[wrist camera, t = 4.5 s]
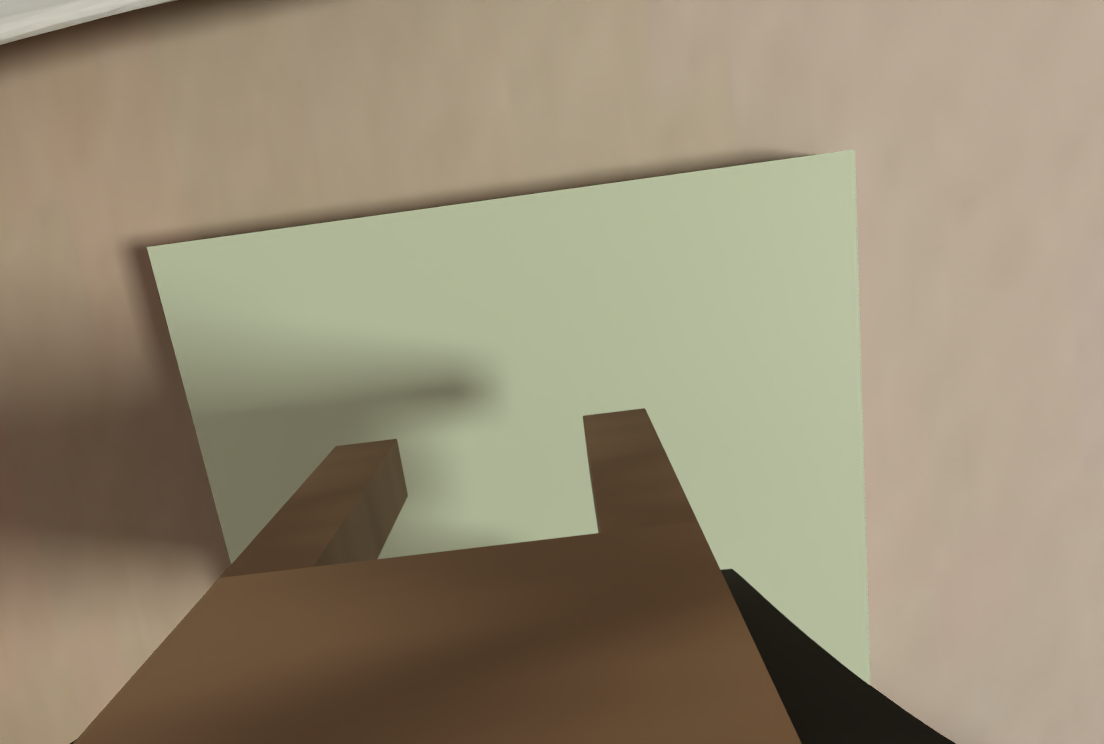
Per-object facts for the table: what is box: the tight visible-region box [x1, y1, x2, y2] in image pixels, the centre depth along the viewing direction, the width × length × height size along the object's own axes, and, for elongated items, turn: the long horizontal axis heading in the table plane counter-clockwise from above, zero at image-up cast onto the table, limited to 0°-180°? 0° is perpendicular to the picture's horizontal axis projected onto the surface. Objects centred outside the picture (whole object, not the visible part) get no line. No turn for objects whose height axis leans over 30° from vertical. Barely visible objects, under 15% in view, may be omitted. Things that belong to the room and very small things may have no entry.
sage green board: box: [147, 149, 870, 685], centre depth 15 cm, size 14×12×2 cm
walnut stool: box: [73, 408, 801, 744], centre depth 8 cm, size 5×5×7 cm
